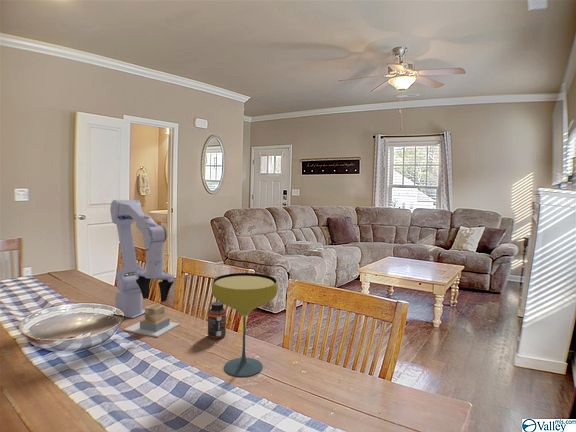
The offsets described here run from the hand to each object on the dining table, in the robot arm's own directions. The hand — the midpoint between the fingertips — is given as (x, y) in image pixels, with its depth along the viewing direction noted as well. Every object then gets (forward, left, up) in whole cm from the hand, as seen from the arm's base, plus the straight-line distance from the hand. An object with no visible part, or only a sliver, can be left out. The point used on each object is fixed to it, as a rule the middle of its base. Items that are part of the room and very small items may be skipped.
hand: (154, 299), depth 133 cm
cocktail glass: (+41, -13, -10) cm, 44 cm away
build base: (-1, 0, -10) cm, 10 cm away
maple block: (0, 0, -7) cm, 7 cm away
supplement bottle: (+23, +3, -10) cm, 25 cm away
